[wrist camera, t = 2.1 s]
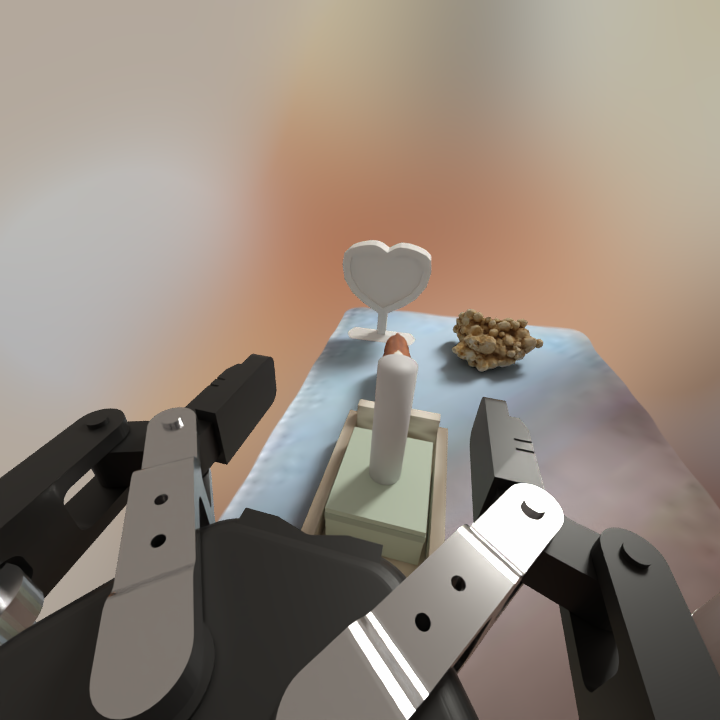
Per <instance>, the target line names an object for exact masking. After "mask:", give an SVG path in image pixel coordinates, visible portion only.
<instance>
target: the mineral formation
mask: <svg viewBox="0 0 720 720" xmlns="http://www.w3.org/2000/svg"><path fill="white" fill-rule="evenodd" d="M456 322H457V325H455V326H454V328H453V332H454V333H457V337H458V338H459V341H460V342H459V343H458V344H457V345H456V346H454V347H453V348H452V351H453V353H455V354H457V356H458V357H460V358H461V359H463V360H464V359H466V360H467V361H468V365H470V366H471V367H477V369H478V370H479V371H481V372H483V371H486V370H487V369H493V368H496V367H497V366H500V367H505V366H510V365H511V364H515V361H516V360H521V359H523V357H524V356H525V354H527V353H529V352H530V351H532V350H533V349H534V348H535V347H536V348H540V347H542V346H543V341H542V340H541V339H537V340H536V339H535V338H533V337H531V336H530V334H529V331H528V330H527V329H525V327H526V325H527V323H528V322H527V321H526V320H524V319H520V320H517V321H514V320H513V319H511V318H507V319H504V320H502V321H500V320H499V319H497V318H495V319H494V320H492V319H491V317H487V318H483V315H482V313H479V312H478V313H477V312H476V311H475V310H472V309H469V310H467V312H465V313H463V312H462V313H460V314H459V319H456Z"/></svg>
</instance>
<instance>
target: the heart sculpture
mask: <svg viewBox="0 0 720 720" xmlns="http://www.w3.org/2000/svg"><path fill="white" fill-rule="evenodd" d="M343 271H344V277H345V280H346V282H347V284H348V285H349V287H350V289H351V291H352V292H353V293H354V294H355V295H356V296H357V297H358V298H359V299H360V300H361V301H362V302H363V303H365V304H366V305H368V306H369V307H370V308H372V309H373V310H375V311H376V312H377V313H378V325H377V330H375V329H367V328H359V327H355V328H353V329H351V330H350V331H348V335H349V337H350V338H353V339H361V340H369V341H377V342H385V343H386V342H387V340H388V339H389V338H390V337H391V336H393V335H395V334H396V333H399V334H400V335H401V336H403V337H404V338H405V340H406V341H407V344H408V346H409V345H411V344H412V343H413V342H414V341H415V338H414V337H413V336H412V335H411V334H409V333H400V332H392V331H386V327H387V317H388V313H390V312H392V311H395V310H397V309H399V308H401V307H404V306H405V305H407V304H409V303H410V302H412V301H414V300H415V299H417V297H418V296H419V295H420V294H421V293H422V291H423V290H424V289H425V288H426V287H427V284H428V281H429V278H430V275H431V255H430V254H429V253H428V252H427V251H426V250H425V249H423V248H420V247H418V246H415V245H412V244H409V243H399V244H396V245H394V246H392V247H390V248H389V247H388V246H387V245H385V244H384V243H382V242H380V241H375V240H370V241H363V242H359V243H356V244H354V245H352V246H351V247H350V248H349V249H348V250H347V251H346V252H345V253H344V259H343Z"/></svg>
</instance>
